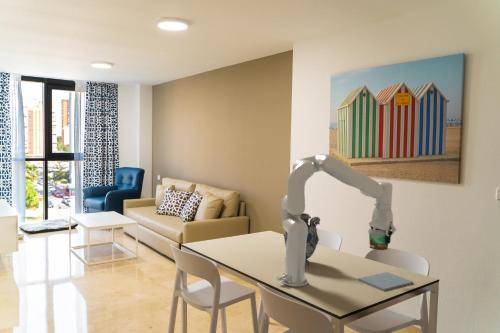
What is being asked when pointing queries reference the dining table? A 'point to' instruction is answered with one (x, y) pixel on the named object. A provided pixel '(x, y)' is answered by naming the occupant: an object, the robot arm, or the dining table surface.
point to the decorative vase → (309, 235)
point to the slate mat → (385, 281)
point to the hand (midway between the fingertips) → (381, 241)
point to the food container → (377, 239)
